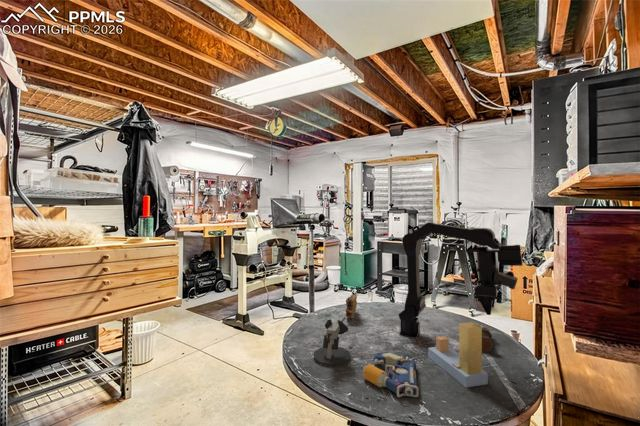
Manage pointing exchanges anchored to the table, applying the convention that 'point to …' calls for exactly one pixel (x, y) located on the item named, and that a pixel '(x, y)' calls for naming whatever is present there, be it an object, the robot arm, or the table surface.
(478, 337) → the tan tall block
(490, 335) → the bolt
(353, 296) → the wooden carving
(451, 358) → the plane body
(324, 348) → the gun turret
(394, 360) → the toy gun
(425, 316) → the table surface
